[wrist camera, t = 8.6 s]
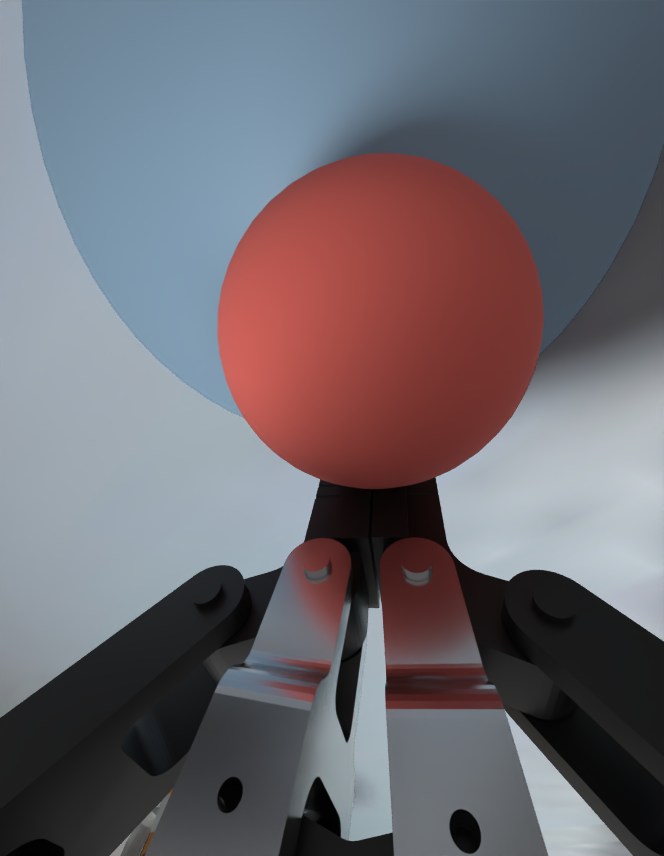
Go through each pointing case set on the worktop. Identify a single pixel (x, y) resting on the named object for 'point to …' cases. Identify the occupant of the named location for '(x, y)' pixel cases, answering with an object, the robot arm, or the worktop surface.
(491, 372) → the ball
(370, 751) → the worktop surface
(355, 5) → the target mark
